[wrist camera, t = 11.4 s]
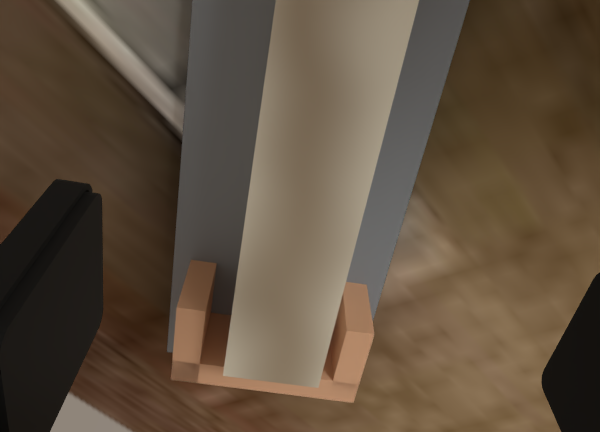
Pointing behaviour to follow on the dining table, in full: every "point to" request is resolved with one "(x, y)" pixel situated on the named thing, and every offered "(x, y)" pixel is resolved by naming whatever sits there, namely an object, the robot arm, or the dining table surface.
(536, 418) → the dining table surface
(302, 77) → the slat
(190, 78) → the board
